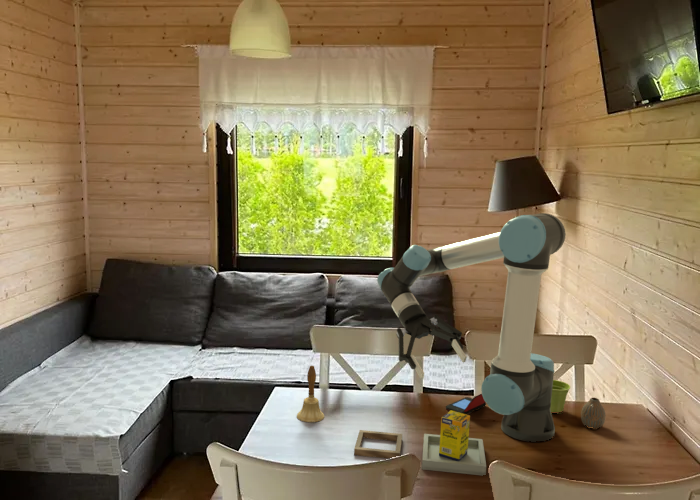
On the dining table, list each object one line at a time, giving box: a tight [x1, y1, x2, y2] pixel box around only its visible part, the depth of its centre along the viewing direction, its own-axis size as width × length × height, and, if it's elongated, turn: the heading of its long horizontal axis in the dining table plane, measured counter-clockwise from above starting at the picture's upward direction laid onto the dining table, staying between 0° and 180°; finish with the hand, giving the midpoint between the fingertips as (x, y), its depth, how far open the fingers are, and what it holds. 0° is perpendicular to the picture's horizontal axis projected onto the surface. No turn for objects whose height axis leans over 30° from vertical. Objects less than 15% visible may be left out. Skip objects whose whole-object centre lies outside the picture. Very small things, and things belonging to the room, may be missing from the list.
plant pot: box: [550, 379, 571, 412], centre depth 211 cm, size 9×9×9 cm
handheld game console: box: [445, 393, 487, 415], centre depth 210 cm, size 12×11×7 cm
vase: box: [580, 397, 606, 429], centre depth 200 cm, size 7×7×9 cm
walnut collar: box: [353, 429, 403, 460], centre depth 181 cm, size 12×12×2 cm
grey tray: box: [421, 433, 487, 476], centre depth 177 cm, size 16×16×2 cm
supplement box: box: [439, 410, 471, 462], centre depth 176 cm, size 6×6×11 cm
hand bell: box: [296, 365, 325, 423], centre depth 198 cm, size 8×8×16 cm
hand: (444, 368), depth 187 cm, fingers open, 13 cm apart
